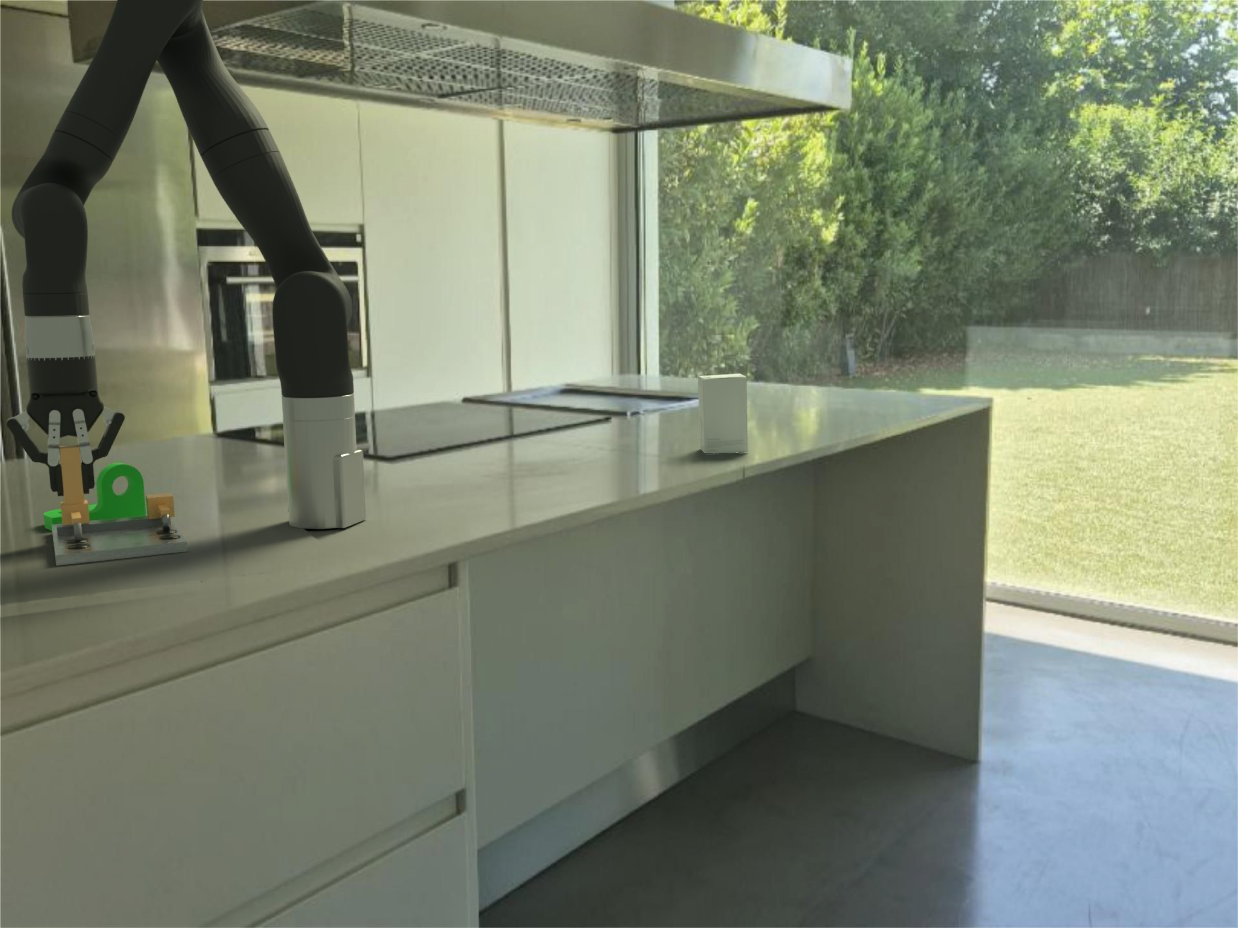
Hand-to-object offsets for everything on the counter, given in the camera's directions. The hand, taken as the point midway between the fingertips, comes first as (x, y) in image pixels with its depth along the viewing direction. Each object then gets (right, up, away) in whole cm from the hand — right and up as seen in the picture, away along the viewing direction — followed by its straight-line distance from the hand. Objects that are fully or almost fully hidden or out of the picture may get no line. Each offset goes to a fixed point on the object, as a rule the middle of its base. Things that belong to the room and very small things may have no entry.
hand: (73, 493), depth 139 cm
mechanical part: (-4, -5, +14) cm, 15 cm away
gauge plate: (+5, -6, 0) cm, 8 cm away
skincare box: (+86, +5, +67) cm, 109 cm away
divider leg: (+1, -5, -1) cm, 5 cm away
